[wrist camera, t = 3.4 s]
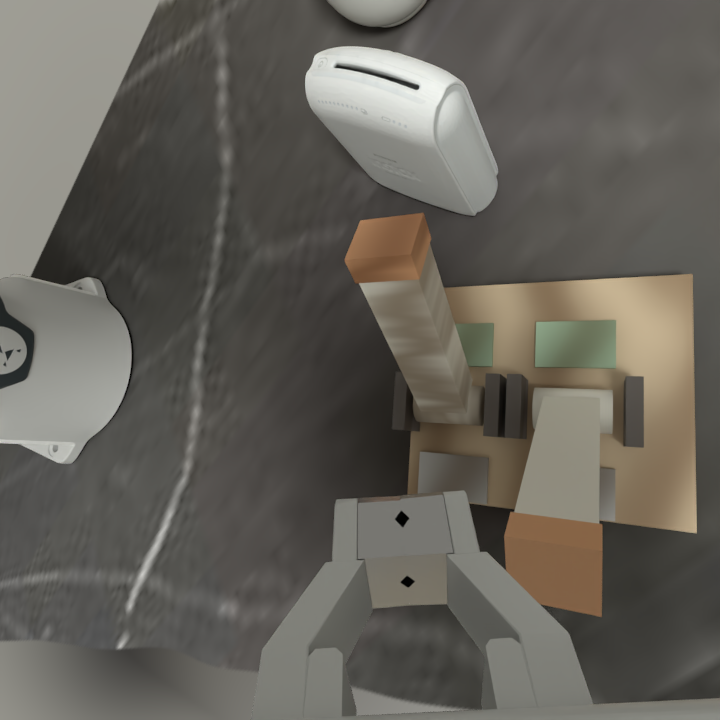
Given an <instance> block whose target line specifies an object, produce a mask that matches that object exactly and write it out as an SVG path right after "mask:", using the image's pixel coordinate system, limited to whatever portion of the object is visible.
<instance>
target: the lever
mask: <svg viewBox="0 0 720 720" xmlns="http://www.w3.org/2000/svg"><path fill="white" fill-rule="evenodd" d="M532 420H533V428H534V429H535V432H534V436H533V440H532V444H531V448H530V452H529V456H528V460H527V463H526V467H525V471H524V475H523V479H522V483H521V487H520V491H519V495H518V499H517V503H516V507H515V511H514V512H510V516H509V520H508V523H507V527H506V531H505V535H504V542H505V560H506V571H507V572H508V573H509V574H510V575H511V576H512V577H513V578H514V579H515V580H516V581H517V582H518V583H519V584H520V585H521V586H522V587H523V588H524V589H525V590H526V591H527V592H528V593H529V594H530V595H531V596H532V597H533V598H534V599H535V600H536V601H537V602H538V603H539V604H541V605H546V606H551V607H555V608H560V609H565V610H570V611H575V612H580V613H585V614H589V615H594V616H599V617H602V524H599V483H600V433H601V434H612V429H613V390H601V389H568V388H534V392H533V403H532Z"/></svg>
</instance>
